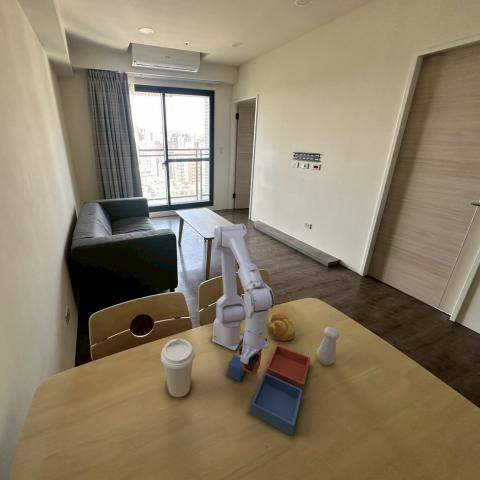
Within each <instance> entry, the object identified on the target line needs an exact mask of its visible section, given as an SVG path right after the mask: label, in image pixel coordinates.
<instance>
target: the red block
mask: <svg viewBox="0 0 480 480" xmlns="http://www.w3.org/2000/svg"><path fill="white" fill-rule="evenodd" d="M255 354H258V355H260V358H259V360H258V361H257V362H256V363H255V365H254V368H253V370H252V372H251V371H249V370H247V369H245V366H244V363H243V370H244V372H248V373H250V374H252V375H254V376H256V375H257V373H258V370H259V368H260V366H261V360H262V351H261V352H259V351H258V352H257V353H255Z"/></svg>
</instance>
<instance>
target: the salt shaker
mask: <svg viewBox="0 0 480 480" xmlns="http://www.w3.org/2000/svg"><path fill="white" fill-rule="evenodd" d="M323 335H324V338H323V340H322V341H321V343H320V345H319V347H318V348H317V350H316V358H317V360H318V361H319V362H320V364H321V365H324V366H326V367H327V366H330V365H331V364H333V363H335V361H336V359H337V340H338V339H339V338H340V333H339V331H338V329H336V328H334V327H332V326H331V327H330V326H329V327H326V328H324V331H323Z"/></svg>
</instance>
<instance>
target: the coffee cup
mask: <svg viewBox="0 0 480 480" xmlns="http://www.w3.org/2000/svg"><path fill="white" fill-rule="evenodd" d="M195 357H196V352H195V349H194V347H193V345H192V344H191V343H190V342H189V341H188V340H186V339H184V338H175V339H174V338H173V339H171V340H169V341H167V342H166V344H165V345H164V347H163V348H162V350H161V354H160V361H161V363H162V364H163V369H164V373H165V378H166V383H167V389H168V392H169V394H170V395H171V396H172V397H175V398H181V397H184V396H186V395H187V394H188V393H189V392H190V388H191V381H192V371H193V361H194V360H195Z"/></svg>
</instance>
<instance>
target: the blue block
mask: <svg viewBox="0 0 480 480" xmlns="http://www.w3.org/2000/svg"><path fill="white" fill-rule="evenodd" d="M240 359H241V357H239V356H237V355H235V354H234V355H233V356H232V357H231V359H230V361H229V362H228V368H227V369H228V370H227V376H228V377H229V378H232V379H234V380H237V382H240V381H241V380H242V377H243V375H244V373H245V370H243V362H241V361H240Z"/></svg>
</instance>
